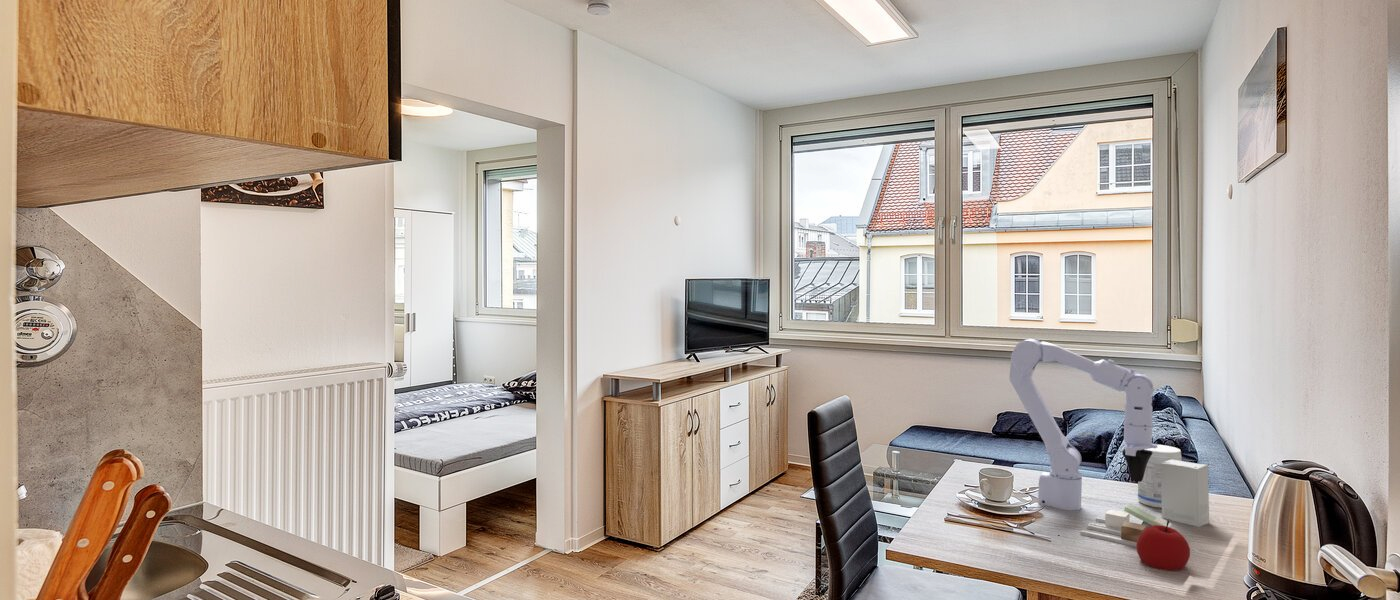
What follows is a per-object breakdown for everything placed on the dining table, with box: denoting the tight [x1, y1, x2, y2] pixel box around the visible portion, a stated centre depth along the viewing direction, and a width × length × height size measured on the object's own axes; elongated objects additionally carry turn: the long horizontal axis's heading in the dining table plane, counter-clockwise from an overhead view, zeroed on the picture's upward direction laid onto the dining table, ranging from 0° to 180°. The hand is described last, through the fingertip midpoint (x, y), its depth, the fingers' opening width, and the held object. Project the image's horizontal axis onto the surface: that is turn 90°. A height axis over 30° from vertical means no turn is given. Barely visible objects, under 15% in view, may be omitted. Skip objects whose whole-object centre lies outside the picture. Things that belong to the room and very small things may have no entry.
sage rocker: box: [1123, 503, 1173, 528], centre depth 167 cm, size 9×4×1 cm, turn 48°
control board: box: [1079, 517, 1152, 547], centre depth 165 cm, size 20×22×3 cm
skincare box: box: [1161, 459, 1210, 528], centre depth 173 cm, size 8×6×15 cm
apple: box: [1136, 519, 1191, 572], centre depth 146 cm, size 9×9×10 cm
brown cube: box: [1120, 521, 1147, 542], centre depth 158 cm, size 4×4×4 cm
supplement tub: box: [1137, 444, 1182, 509], centre depth 189 cm, size 10×10×15 cm
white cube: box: [1104, 509, 1131, 529], centre depth 167 cm, size 4×4×4 cm
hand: (1136, 480), depth 175 cm, fingers closed
